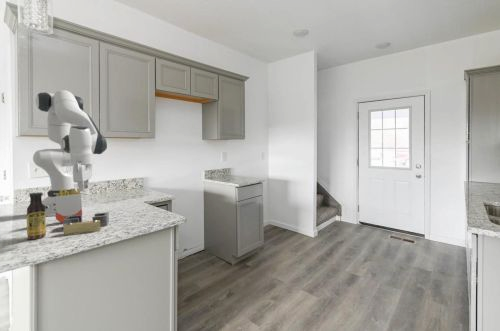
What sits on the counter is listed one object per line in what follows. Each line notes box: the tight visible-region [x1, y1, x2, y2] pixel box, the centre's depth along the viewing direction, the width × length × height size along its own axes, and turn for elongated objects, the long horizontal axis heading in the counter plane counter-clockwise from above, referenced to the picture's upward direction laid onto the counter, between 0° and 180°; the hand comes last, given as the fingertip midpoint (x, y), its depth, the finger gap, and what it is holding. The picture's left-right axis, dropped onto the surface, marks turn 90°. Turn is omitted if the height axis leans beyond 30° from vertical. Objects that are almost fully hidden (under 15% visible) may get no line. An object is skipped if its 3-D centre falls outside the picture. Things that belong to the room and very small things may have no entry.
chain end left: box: [62, 214, 83, 231], centre depth 121 cm, size 6×8×5 cm
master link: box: [62, 219, 102, 236], centre depth 115 cm, size 14×3×5 cm, turn 113°
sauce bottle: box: [26, 192, 47, 240], centre depth 107 cm, size 7×6×20 cm
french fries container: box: [55, 188, 83, 224], centre depth 130 cm, size 5×11×18 cm, turn 136°
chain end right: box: [92, 212, 110, 227], centre depth 126 cm, size 6×8×5 cm
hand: (83, 189), depth 116 cm, fingers open, 8 cm apart
